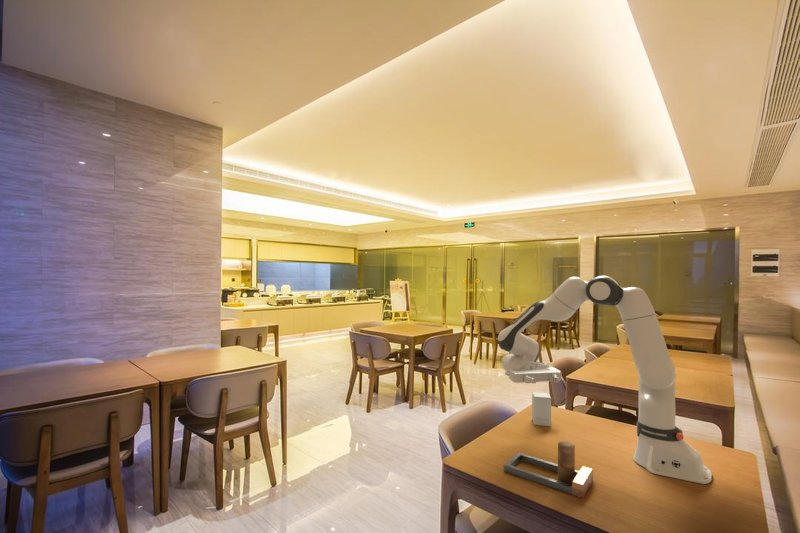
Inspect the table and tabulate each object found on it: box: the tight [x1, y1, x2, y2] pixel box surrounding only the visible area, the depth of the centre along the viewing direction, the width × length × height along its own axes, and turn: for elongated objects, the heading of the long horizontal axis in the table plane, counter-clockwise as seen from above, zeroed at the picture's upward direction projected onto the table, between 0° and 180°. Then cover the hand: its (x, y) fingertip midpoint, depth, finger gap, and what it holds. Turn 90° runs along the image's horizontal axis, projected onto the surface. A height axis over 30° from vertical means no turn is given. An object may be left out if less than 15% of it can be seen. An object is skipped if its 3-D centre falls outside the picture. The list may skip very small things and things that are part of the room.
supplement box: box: [531, 392, 552, 427], centre depth 176 cm, size 7×7×13 cm
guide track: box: [503, 452, 594, 499], centre depth 129 cm, size 25×12×4 cm, turn 51°
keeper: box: [557, 441, 576, 485], centre depth 126 cm, size 5×5×12 cm
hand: (546, 380), depth 143 cm, fingers open, 8 cm apart
